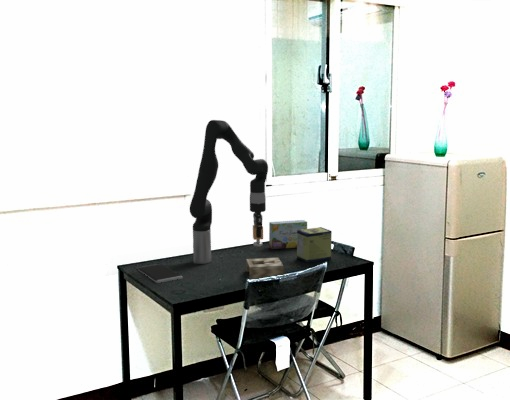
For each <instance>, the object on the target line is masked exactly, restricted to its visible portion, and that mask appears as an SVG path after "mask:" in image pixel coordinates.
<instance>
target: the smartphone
mask: <svg viewBox="0 0 510 400" xmlns="http://www.w3.org/2000/svg"><path fill="white" fill-rule="evenodd" d="M136 269H138V270H137V271H138V272H140V273H142V274H143V275H144V274H145V276H146V277H147V276H148V277H147V278H149V279H150V280H152V281H153V282H155V283H156V284H161V282H162V283H166V282H172V280H173V281H177V279H178V280H182V279H183V276H182V275H181V274H179V273H178V272H176V271H174V269H171V268H169V267H167V266H166V265H164V264H162V263H157V264H156V263H155V264H152V265H150V264H149V265H144V266H139V267H137V268H136Z"/></svg>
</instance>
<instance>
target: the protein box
mask: <svg viewBox="0 0 510 400" xmlns="http://www.w3.org/2000/svg"><path fill="white" fill-rule="evenodd" d="M332 233H333V232H332V230H330V229H327V228H324V227H322V226H320V227H312V228H307V229H302V230H297V247H296V258H297V259H298V260H300V261H302V262H305V263H307V264H308V263H314V262H320V261H321V262H322V261H328V260H327V259H329V260H332Z"/></svg>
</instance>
